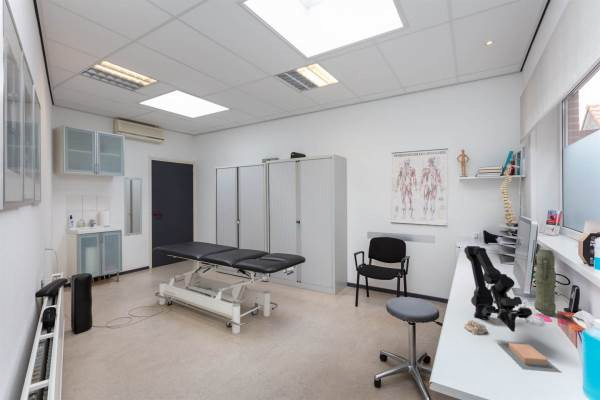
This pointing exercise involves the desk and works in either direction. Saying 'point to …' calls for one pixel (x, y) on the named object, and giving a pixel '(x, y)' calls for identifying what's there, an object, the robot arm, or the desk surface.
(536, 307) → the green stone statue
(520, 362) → the mat
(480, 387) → the desk surface
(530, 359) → the tile
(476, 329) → the rock
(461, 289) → the desk surface
